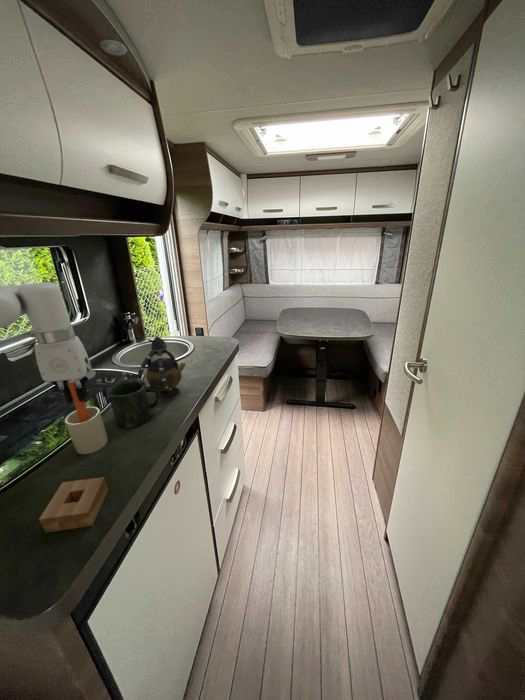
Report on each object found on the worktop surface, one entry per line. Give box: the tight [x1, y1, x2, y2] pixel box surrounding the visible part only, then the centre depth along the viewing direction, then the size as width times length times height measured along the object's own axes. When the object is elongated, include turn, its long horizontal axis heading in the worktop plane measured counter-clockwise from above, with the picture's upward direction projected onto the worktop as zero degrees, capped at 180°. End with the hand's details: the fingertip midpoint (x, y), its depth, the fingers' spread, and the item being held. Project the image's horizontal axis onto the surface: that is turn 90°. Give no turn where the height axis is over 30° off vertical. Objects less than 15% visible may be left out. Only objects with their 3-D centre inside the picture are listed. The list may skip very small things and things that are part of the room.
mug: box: [105, 378, 160, 429], centre depth 89 cm, size 11×15×12 cm
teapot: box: [136, 336, 186, 402], centre depth 103 cm, size 12×25×23 cm, turn 171°
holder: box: [38, 476, 109, 534], centre depth 60 cm, size 9×9×4 cm
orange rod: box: [67, 380, 90, 422], centre depth 75 cm, size 2×2×14 cm
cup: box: [64, 406, 109, 455], centre depth 78 cm, size 8×8×10 cm
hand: (77, 399), depth 74 cm, fingers closed on orange rod, 2 cm apart
